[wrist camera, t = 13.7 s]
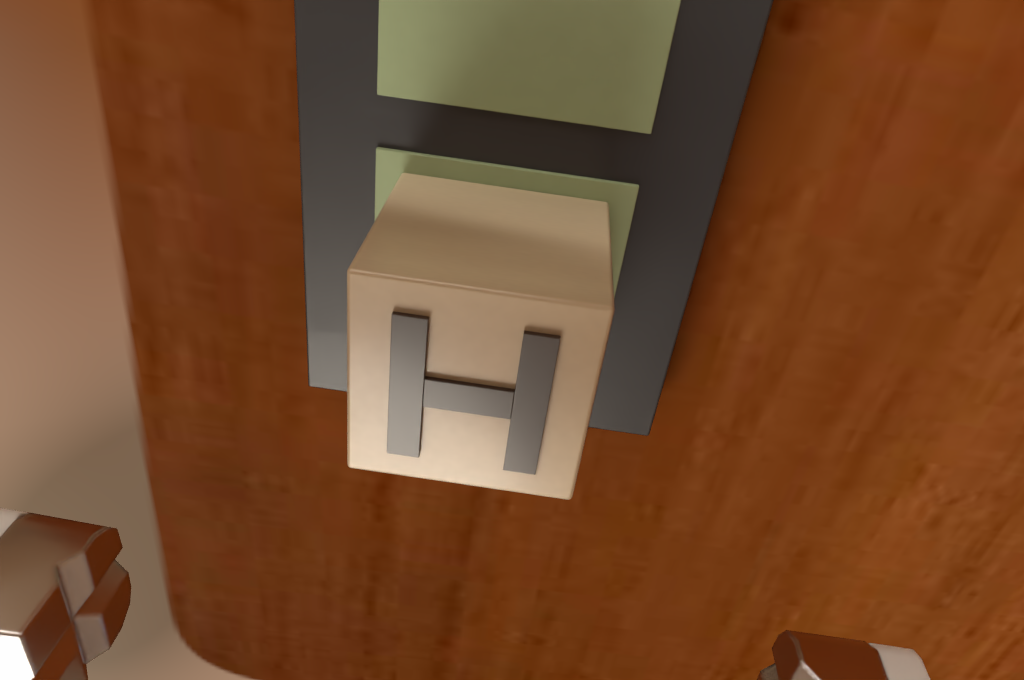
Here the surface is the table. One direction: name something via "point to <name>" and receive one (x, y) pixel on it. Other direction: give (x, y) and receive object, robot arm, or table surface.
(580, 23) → the dark grey flat block
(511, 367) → the tile
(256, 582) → the table surface
